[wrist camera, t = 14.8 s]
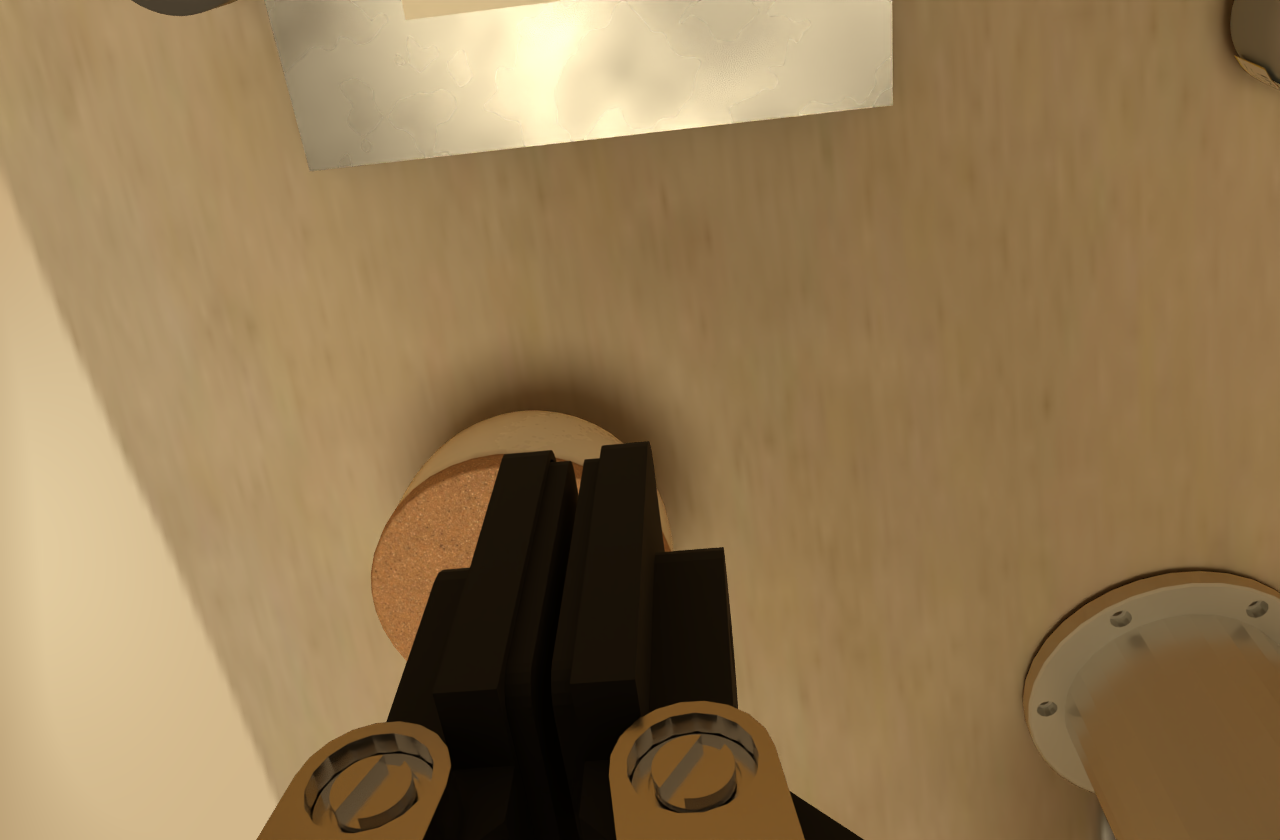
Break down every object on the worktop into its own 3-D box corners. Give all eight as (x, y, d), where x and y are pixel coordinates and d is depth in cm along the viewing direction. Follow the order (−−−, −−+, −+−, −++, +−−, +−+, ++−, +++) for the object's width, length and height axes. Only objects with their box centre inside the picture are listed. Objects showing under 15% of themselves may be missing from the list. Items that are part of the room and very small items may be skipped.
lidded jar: (406, 362, 41) (339, 489, 33) (681, 369, 41) (683, 499, 33) (428, 585, 46) (373, 743, 38) (673, 592, 46) (672, 753, 38)
